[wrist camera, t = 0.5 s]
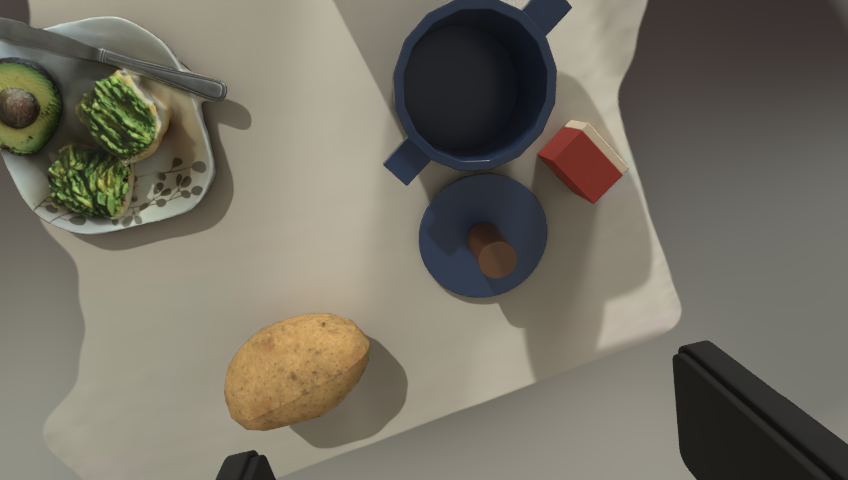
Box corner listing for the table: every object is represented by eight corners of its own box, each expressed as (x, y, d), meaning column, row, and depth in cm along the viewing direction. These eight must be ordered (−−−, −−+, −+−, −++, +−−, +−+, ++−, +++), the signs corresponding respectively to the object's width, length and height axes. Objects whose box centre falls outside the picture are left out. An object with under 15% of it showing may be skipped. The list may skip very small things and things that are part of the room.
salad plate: (201, -18, 36) (175, -33, 32) (266, 200, 42) (251, 212, 37) (-43, 27, 36) (-103, 19, 32) (54, 240, 42) (15, 258, 37)
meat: (536, 154, 42) (551, 160, 38) (570, 119, 42) (589, 122, 38) (575, 193, 44) (593, 204, 40) (608, 161, 43) (630, 168, 39)
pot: (345, 116, 40) (334, 122, 32) (481, -42, 37) (506, -79, 29) (439, 202, 43) (450, 227, 35) (571, 62, 40) (618, 55, 32)
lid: (391, 239, 44) (392, 266, 37) (482, 144, 42) (499, 154, 35) (480, 315, 47) (496, 353, 40) (569, 230, 45) (600, 255, 38)
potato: (392, 350, 48) (392, 399, 40) (275, 409, 49) (254, 467, 41) (343, 273, 45) (334, 310, 37) (220, 337, 46) (186, 386, 38)
